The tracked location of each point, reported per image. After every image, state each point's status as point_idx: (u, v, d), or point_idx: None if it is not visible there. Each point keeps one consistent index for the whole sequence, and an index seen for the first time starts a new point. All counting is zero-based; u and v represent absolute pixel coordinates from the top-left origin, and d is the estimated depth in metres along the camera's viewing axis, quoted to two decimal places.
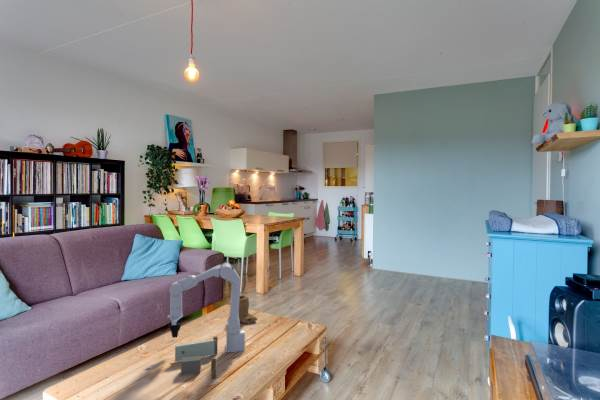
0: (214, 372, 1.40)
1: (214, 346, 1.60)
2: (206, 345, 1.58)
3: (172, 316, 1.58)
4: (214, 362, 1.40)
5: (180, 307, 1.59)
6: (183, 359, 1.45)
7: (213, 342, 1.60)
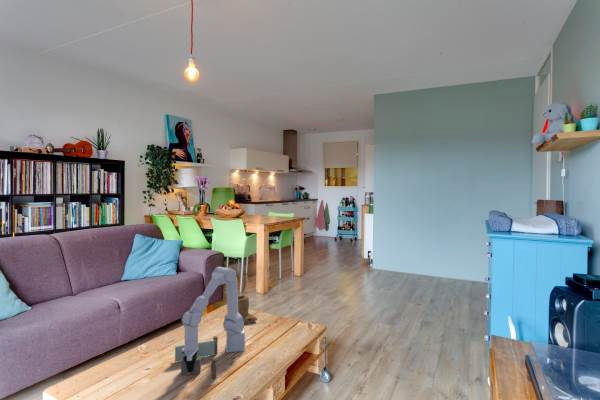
0: (214, 372, 1.40)
1: (214, 346, 1.60)
2: (206, 345, 1.58)
3: (187, 350, 1.43)
4: (214, 362, 1.40)
5: (196, 339, 1.44)
6: (183, 359, 1.45)
7: (213, 342, 1.60)
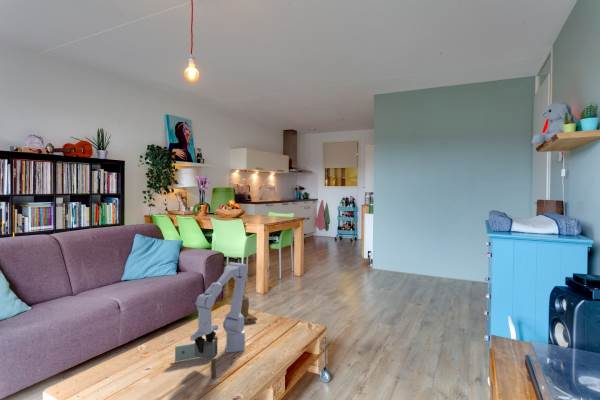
0: (214, 372, 1.40)
1: (214, 346, 1.60)
2: None
3: (198, 330, 1.47)
4: (214, 362, 1.40)
5: (205, 323, 1.45)
6: None
7: (213, 342, 1.60)
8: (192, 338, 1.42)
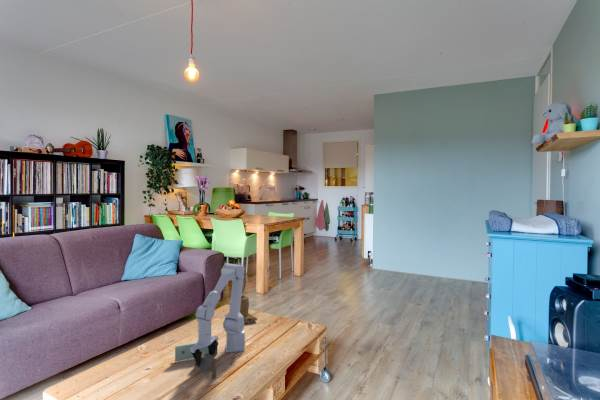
0: (214, 372, 1.40)
1: None
2: None
3: (198, 342, 1.47)
4: (214, 362, 1.40)
5: (205, 334, 1.46)
6: None
7: None
8: (192, 350, 1.42)
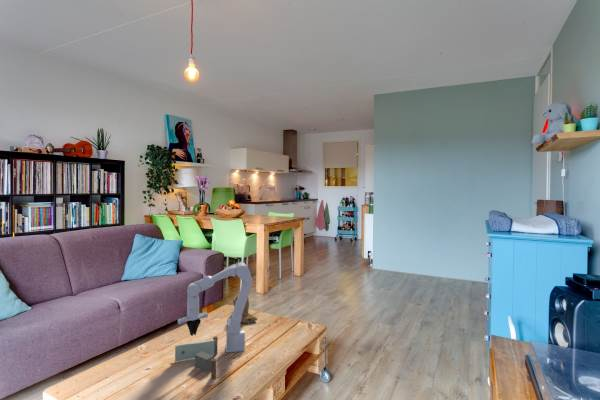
0: (214, 372, 1.40)
1: (214, 346, 1.60)
2: (206, 345, 1.58)
3: (187, 315, 1.61)
4: (214, 362, 1.40)
5: (191, 309, 1.59)
6: (199, 353, 1.50)
7: (213, 342, 1.60)
8: (178, 321, 1.57)
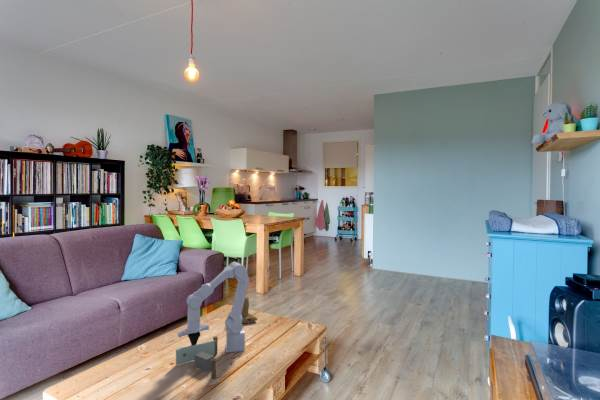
0: (214, 372, 1.40)
1: (214, 346, 1.60)
2: (207, 345, 1.58)
3: None
4: (214, 362, 1.40)
5: (192, 322, 1.53)
6: (199, 353, 1.50)
7: (213, 342, 1.59)
8: (178, 335, 1.51)
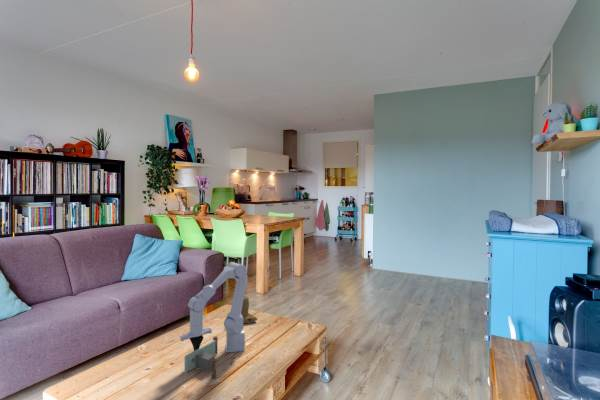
0: (214, 372, 1.40)
1: (215, 346, 1.60)
2: (209, 347, 1.57)
3: (190, 331, 1.52)
4: (214, 362, 1.40)
5: (194, 325, 1.50)
6: (200, 353, 1.50)
7: (214, 342, 1.59)
8: (181, 338, 1.48)
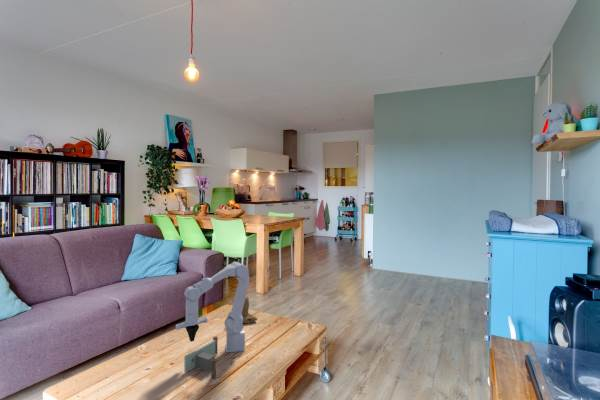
0: (214, 372, 1.40)
1: (215, 346, 1.60)
2: (209, 347, 1.57)
3: None
4: (214, 362, 1.40)
5: (190, 314, 1.51)
6: (200, 353, 1.50)
7: (214, 342, 1.59)
8: (176, 327, 1.49)
